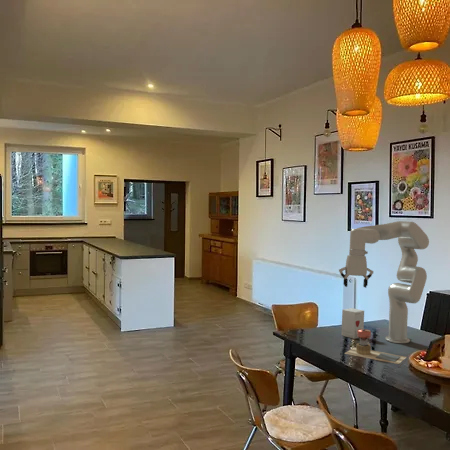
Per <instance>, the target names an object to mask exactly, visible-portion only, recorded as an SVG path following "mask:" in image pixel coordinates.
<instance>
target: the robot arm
mask: <svg viewBox="0 0 450 450" xmlns="http://www.w3.org/2000/svg"><path fill="white" fill-rule="evenodd" d="M396 238H397V243H398V246H399V247H400V251H401V260H400V262H399V265H398V269H397V271H396V279H397V281H399V282H394V283H391V284H390V285H389V287H388V290H387V294H388V301H389V312H388V314H389V315H388V320H389V321H388V335H386V336H385V341H387V342H389V343H395V344H409V343H410V341H411V339H410V338H408V317H409V316H408V315H409V308H408V306H407V303H408V304H417V303H419V302H420V300H421V297H422V296H423V292H424V290H425V289H424V288H425V285H426V283H427V277H428V276H427V271H426V270H425V268H424V267H422V266H417V265H418V261H419V256H418V254H417V252H416V250H425V249H427V248H428V247H429V245H430V239H429V237H428V235H427V234H426V233H425V231H424V230H423V229H422V228H421V226H419V225H418V224H417V223H415V222H413V221H401V220H400V221H399V220H398V221H394V222H389V223H388V222H387V223H384V224H382V223H381V224H375V225H367V226H361V227H357V228H352V229H350V235H349V251H348V253H349V254H348V255H347V257H346V260H345V266H343V267H342V268H339V269H338V272H339V274H340V276H341V277H342V278H343V285H344V287H346V288H347V287H348V282H349V281H348V278H349V276H358V277H360V276H361V277H363V278H364V279H363V285H362V286H363V288H366V289H367V286H368V283H369V282H368V281H369V279H370V278H372V276H373V274H374V270H372V269H370V268H368V264H367V263H368V262H367V256H366V255H367V254H368V253H369V252H368V251H367V250H365V249H366V244H371V245H372V244H376V243H378V242H379V241H388V240H392V239H396ZM368 272H369V273H368ZM344 273H345V274H344ZM367 273H368V275H367ZM400 282H401V283H400Z"/></svg>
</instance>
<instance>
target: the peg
mask: <svg viewBox="0 0 450 450" xmlns="http://www.w3.org/2000/svg"><path fill="white" fill-rule="evenodd" d="M357 337H359V338H358V339H359V343H360V345H361V346H367V344H369V343H368V339H371V337H372V331H371V330H370V329H365V328H364V329H358V330H357Z"/></svg>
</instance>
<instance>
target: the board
mask: <svg viewBox="0 0 450 450" xmlns="http://www.w3.org/2000/svg"><path fill="white" fill-rule="evenodd" d="M344 354H345V355H350V356H355V357H361V358H365V359H370V360H373V361H374V360H376V361H380V362H384V363H385V362H386V363H391V364H395V365H399V366H398V368H400V367H401V366H402V365H403V364H404V362H403V361H405V359H406V360H407V357H408V356H404V355H397V354H393V353H388V352H382V351H377V350H372V346H371V344H370V343H367V346H361V345H360V342H358V343H356V346H354V347H353V348H351V349H349V350H348V351H346V352H344Z"/></svg>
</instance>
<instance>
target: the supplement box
mask: <svg viewBox="0 0 450 450" xmlns="http://www.w3.org/2000/svg"><path fill="white" fill-rule="evenodd" d="M364 324H365V310H364V309H358V308H354V307H350V308H344V309H342V315H341V336H343V337H346V338H350V339H360V338H359V337H357V330H358V329H365V325H364Z"/></svg>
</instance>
